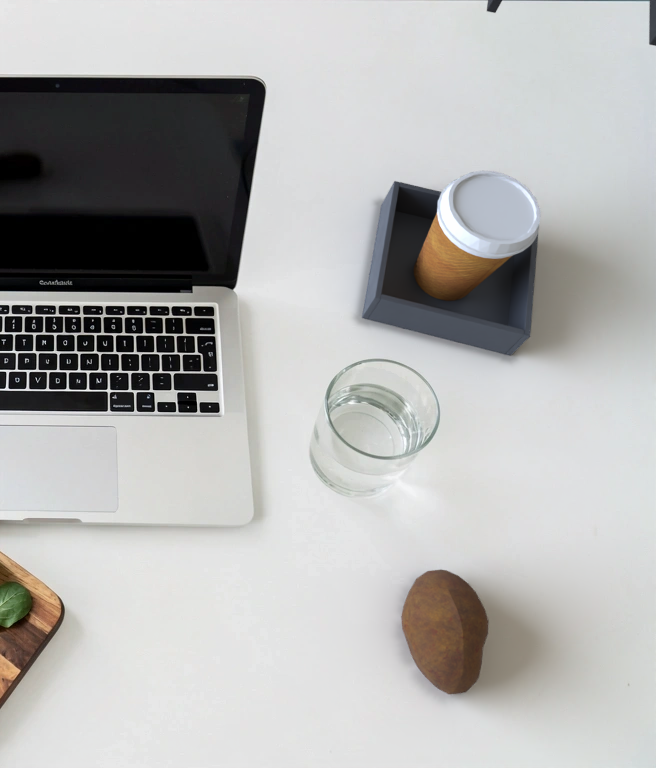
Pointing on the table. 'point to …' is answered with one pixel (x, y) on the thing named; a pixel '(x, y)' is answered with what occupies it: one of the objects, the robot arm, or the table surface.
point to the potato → (445, 630)
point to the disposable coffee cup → (475, 232)
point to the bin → (435, 316)
